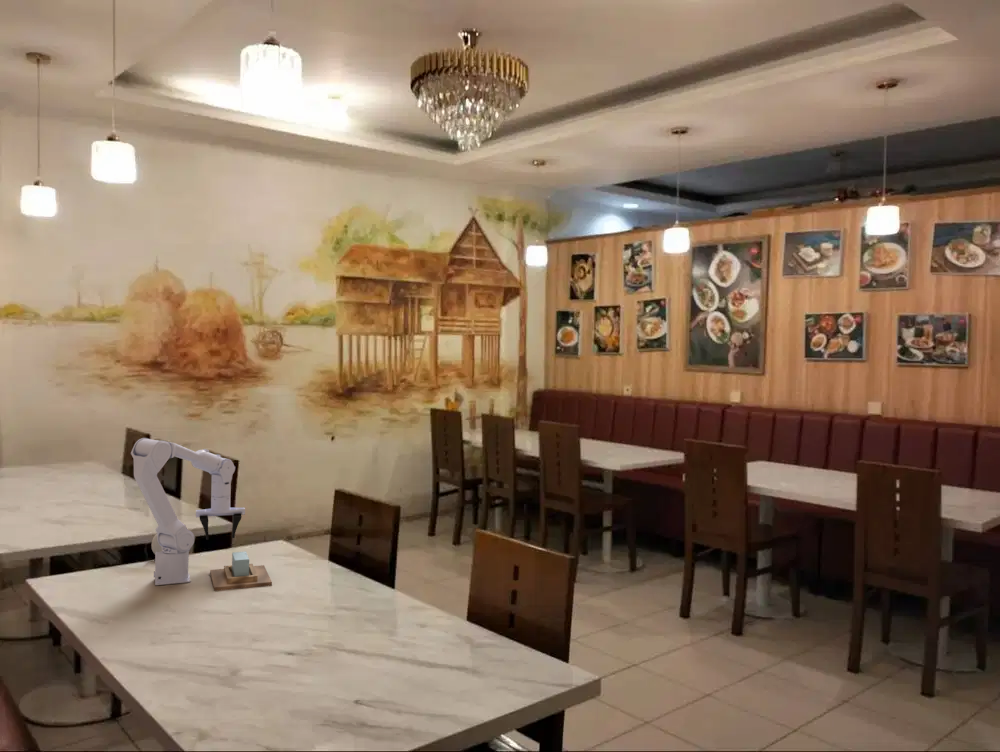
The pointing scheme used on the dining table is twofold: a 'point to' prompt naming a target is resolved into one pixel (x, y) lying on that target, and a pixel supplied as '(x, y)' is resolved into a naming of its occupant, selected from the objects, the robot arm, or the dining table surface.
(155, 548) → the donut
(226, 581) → the cradle
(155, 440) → the robot arm
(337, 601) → the dining table surface
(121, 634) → the dining table surface
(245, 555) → the tall light blue prism
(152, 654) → the dining table surface
